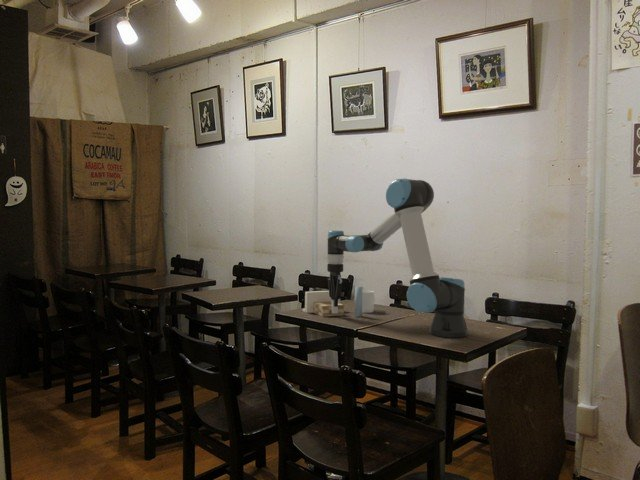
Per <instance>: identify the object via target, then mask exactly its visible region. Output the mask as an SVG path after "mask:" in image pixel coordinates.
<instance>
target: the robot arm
mask: <svg viewBox="0 0 640 480" xmlns="http://www.w3.org/2000/svg"><path fill="white" fill-rule="evenodd" d="M434 198H435V192H434V189H433V187H432V185H431V184H430V183H429V182H427V181H426V180H423V179H412V178H411V179H410V178H396V179H394V180H392V181H391V182H390V183H389V185H388V187H387V189H386V192H385V201H386V203H387V205H388V206H390V207H391V208H393V211H392V212H391V213H390V214H389V215H388V216H387V217H385V219H384V220H381V222H380V223H379V224H378V225H377V226H376V227H375V228H373V230H371V231H369V233H367V234H361V235H357V234H356V235H354V234H353V235H351V234H349V235H347V234H345V233H344V231H343V230H328V233H327V257H326V258H327V260H326V261H327V264H326V265H327V266H326V267H327V269H326V271H327V272H328V273H329V276H327V278H326V279H327V283H328V291H329V297H331V299H332V314H335V313H338V300H339V299H340V300H341V299H342V291H343V290H342V289H343V284H344V279H342V275H341V273H342V272H344V264H343V263H344V258H345V256H344V252H347V253H348V252H349V253H359V252H360V253H361V252H377V251H380V250H381V249H382V248H383V246H384V242H385V241H386V240H388V238H390V237H391V236H392V235H394V234H395V233H396V232H397V231H398V230H400V229H402V235H403V239H404V243H405V248H406V253H407V257H408V261H409V266H410V267H409V268H410V271H411V275H412V276H411V277H410V279H409V284H410V285H409V286H408V288H407V291H406V299H407V302H408V304H409V306H410V307H411V309H413V310H414V311H416V312H418V313H421V314H423V313H424V314H425V313H426V314H428V313H432V312H434V314H433V318H432V320H431V324H430V326H429V334H431V335H433V336H436V337H441V338H450V339H451V338H452V339H454V338H458V339H459V338H464V337H465V338H466V337H468V331H469V330H468V326H467V322H466V320H465V293H466V292H465V291H466V288H465V281H464V280H463V279H461V278H454V277H444V276H440V274H438V273H437V272H435V269H434V266H433V261H432V257H431V253H430V251H431V250H430V248H429V243H428V240H427V233H426V230H425V225H424V220H423V217H422V216H423V215H422V213H423V212H424V213H425V211H426V210H427V209H428V208H429V207H430V206H431V205H432V203H433V202H434Z"/></svg>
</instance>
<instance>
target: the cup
mask: <svg viewBox="0 0 640 480" xmlns="http://www.w3.org/2000/svg"><path fill="white" fill-rule="evenodd" d="M374 309H375V291H374V290H368V289H363V293H362V314H370V313H374Z"/></svg>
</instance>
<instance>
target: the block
mask: <svg viewBox="0 0 640 480" xmlns="http://www.w3.org/2000/svg"><path fill="white" fill-rule="evenodd" d="M344 310H345V304H342V303H341V302H340V303H338V313H335V314H332V301H330V302H314V314H316V315H318V316H321V317H323V318H324V317H325V318H326V317H335V316H344V315H345V312H344Z"/></svg>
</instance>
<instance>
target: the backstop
mask: <svg viewBox="0 0 640 480" xmlns="http://www.w3.org/2000/svg"><path fill="white" fill-rule="evenodd" d="M330 301H332V299H331V297H329V290H317V291H316V290H315V291H305V292H304V308H302V312H304V313H306V314H311V313H314V302H330ZM338 303H340V304H341V298H340V299H339V300H338ZM314 314H315V313H314Z"/></svg>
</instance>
